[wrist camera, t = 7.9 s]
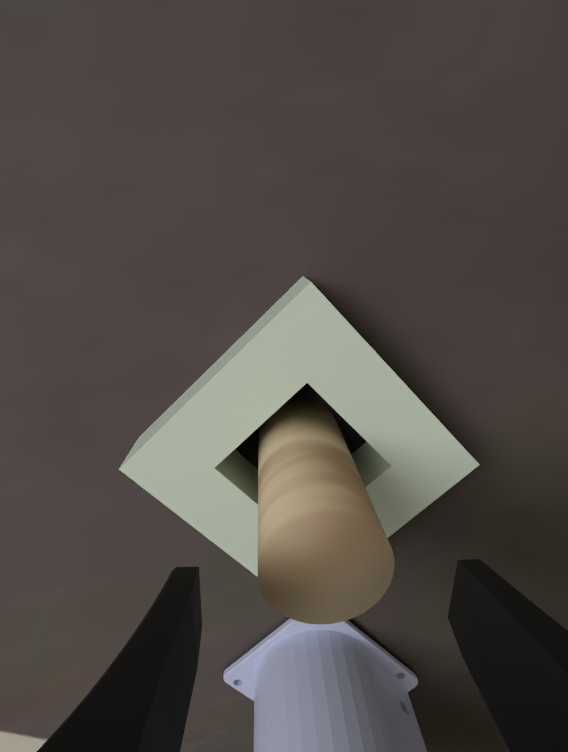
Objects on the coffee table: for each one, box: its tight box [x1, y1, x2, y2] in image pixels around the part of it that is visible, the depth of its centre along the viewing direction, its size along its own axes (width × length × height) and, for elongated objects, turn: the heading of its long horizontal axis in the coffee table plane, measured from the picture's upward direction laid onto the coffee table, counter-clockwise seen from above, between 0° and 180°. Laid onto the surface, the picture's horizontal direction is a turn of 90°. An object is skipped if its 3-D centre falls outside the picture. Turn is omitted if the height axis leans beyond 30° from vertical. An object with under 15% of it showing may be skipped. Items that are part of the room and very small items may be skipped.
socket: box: [119, 276, 479, 577], centre depth 19 cm, size 11×11×3 cm
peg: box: [258, 398, 395, 625], centre depth 16 cm, size 4×4×9 cm
